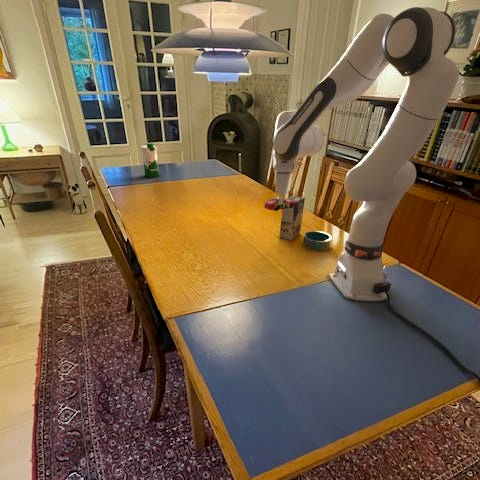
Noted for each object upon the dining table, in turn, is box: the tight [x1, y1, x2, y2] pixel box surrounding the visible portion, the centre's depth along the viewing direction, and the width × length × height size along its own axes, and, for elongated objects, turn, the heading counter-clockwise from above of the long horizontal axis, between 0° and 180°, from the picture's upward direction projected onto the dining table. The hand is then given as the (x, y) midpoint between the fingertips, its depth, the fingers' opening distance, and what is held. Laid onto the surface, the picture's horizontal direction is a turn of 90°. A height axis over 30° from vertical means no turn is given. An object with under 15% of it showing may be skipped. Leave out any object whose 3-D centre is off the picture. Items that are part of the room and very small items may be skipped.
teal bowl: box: [302, 230, 332, 252], centre depth 143 cm, size 11×11×4 cm
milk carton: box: [140, 142, 160, 178], centre depth 227 cm, size 9×9×20 cm
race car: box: [263, 197, 294, 212], centre depth 133 cm, size 13×5×4 cm, turn 124°
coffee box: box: [279, 195, 306, 241], centre depth 148 cm, size 9×6×16 cm
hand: (281, 201), depth 132 cm, fingers closed on race car, 6 cm apart
